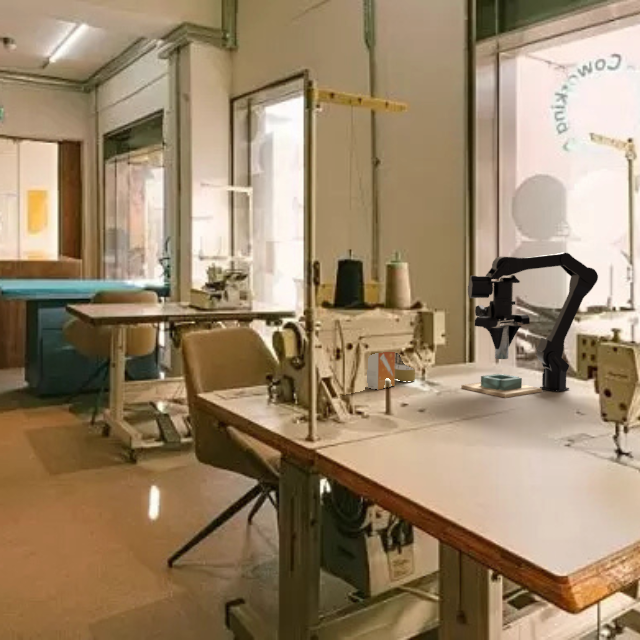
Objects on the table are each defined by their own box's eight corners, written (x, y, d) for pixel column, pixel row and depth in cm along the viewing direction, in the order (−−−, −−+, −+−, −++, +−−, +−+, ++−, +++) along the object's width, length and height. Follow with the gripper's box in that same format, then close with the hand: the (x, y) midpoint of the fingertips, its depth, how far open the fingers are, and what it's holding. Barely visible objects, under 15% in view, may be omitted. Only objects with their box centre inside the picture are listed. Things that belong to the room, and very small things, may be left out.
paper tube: (414, 379, 249) (415, 304, 247) (415, 382, 243) (416, 306, 240) (394, 378, 250) (394, 304, 248) (394, 382, 243) (394, 306, 241)
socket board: (541, 391, 227) (541, 378, 227) (505, 397, 218) (505, 384, 218) (496, 382, 242) (497, 370, 242) (461, 388, 233) (461, 375, 233)
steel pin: (511, 358, 229) (511, 326, 228) (502, 359, 227) (502, 326, 226) (501, 356, 232) (501, 324, 231) (492, 358, 230) (492, 325, 229)
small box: (378, 390, 230) (378, 348, 229) (363, 387, 235) (363, 346, 234) (395, 387, 236) (395, 346, 235) (380, 384, 240) (380, 344, 239)
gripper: (503, 295, 239) (502, 343, 241) (461, 297, 229) (461, 348, 231) (531, 297, 230) (530, 347, 232) (489, 299, 220) (488, 352, 221)
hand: (501, 348), depth 229 cm, fingers closed on steel pin, 4 cm apart
